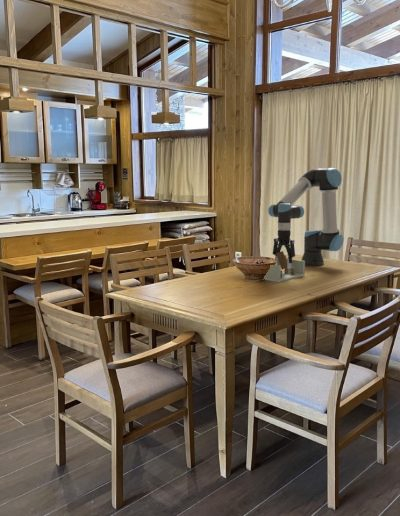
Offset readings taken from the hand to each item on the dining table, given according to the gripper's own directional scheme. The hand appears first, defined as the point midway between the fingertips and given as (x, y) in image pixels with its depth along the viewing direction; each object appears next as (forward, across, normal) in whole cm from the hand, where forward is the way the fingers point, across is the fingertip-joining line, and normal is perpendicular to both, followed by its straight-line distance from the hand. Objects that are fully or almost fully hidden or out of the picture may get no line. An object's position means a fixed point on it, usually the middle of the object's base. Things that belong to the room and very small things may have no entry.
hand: (283, 267), depth 294 cm
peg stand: (+6, 0, 0) cm, 6 cm away
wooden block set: (+1, -2, 0) cm, 2 cm away
